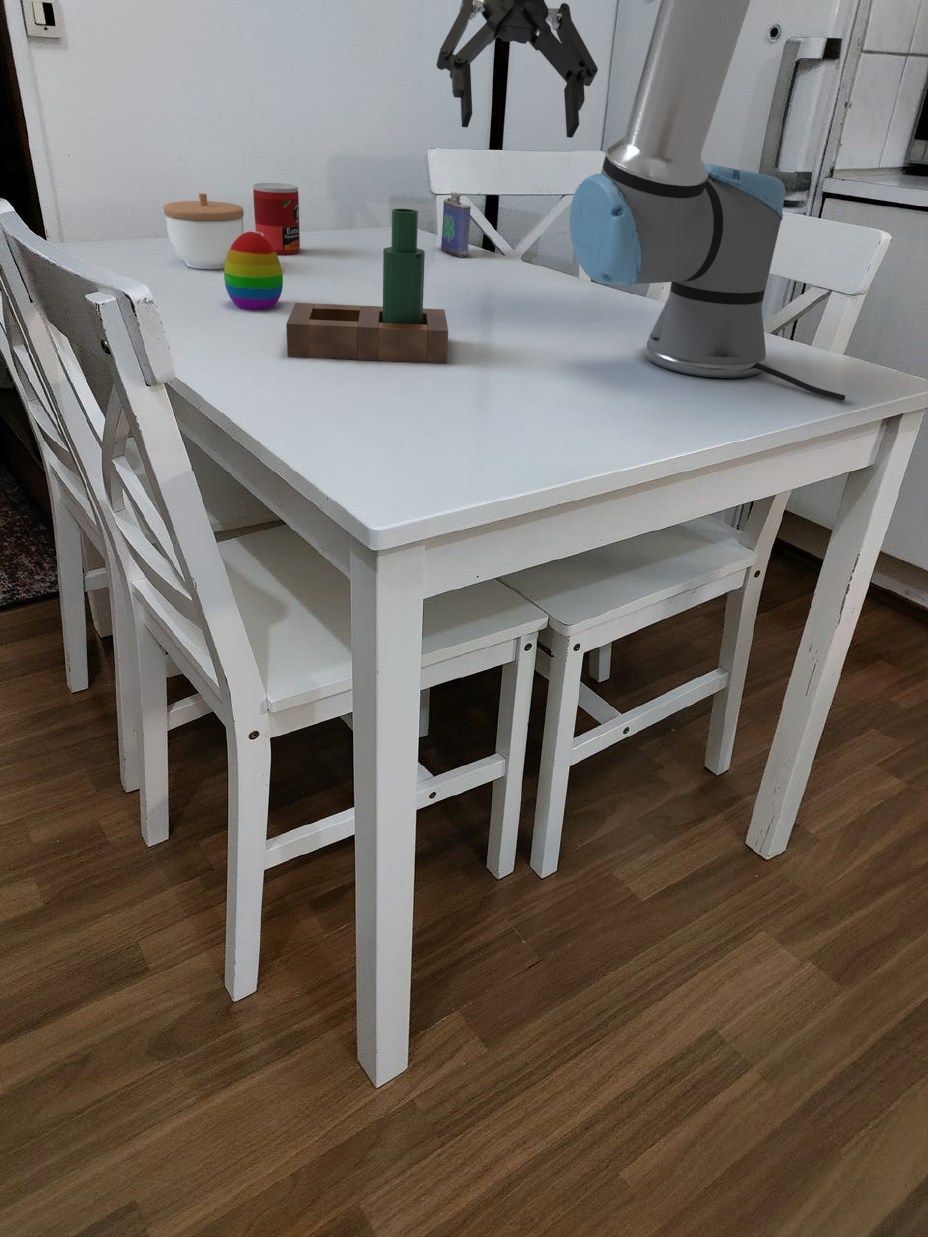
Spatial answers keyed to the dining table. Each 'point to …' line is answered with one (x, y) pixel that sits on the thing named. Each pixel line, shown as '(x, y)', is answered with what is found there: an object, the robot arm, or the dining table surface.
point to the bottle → (403, 271)
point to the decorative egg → (253, 273)
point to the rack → (364, 334)
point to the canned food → (278, 216)
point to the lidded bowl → (203, 230)
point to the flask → (455, 226)
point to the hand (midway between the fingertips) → (520, 125)
